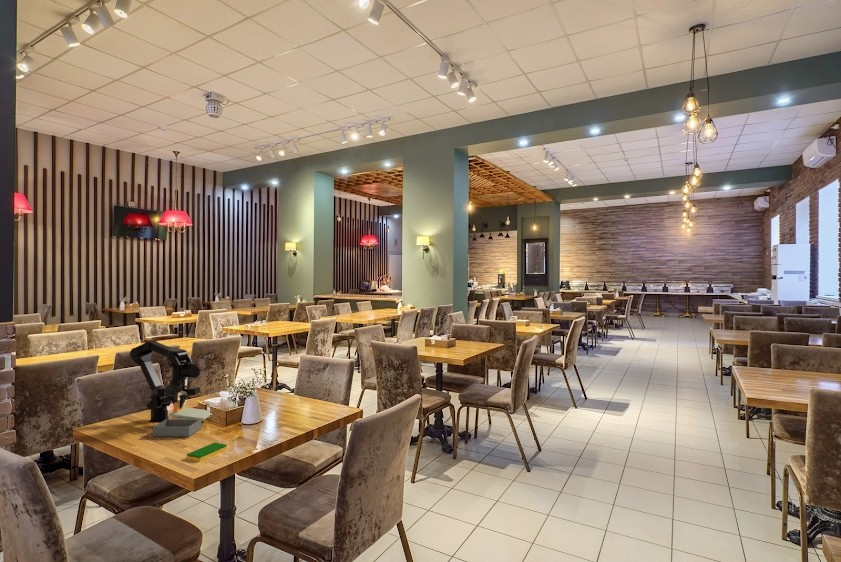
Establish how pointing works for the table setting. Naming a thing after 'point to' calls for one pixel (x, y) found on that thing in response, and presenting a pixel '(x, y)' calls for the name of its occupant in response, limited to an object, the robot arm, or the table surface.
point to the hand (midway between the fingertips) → (178, 408)
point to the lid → (189, 412)
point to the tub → (177, 428)
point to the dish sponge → (206, 452)
